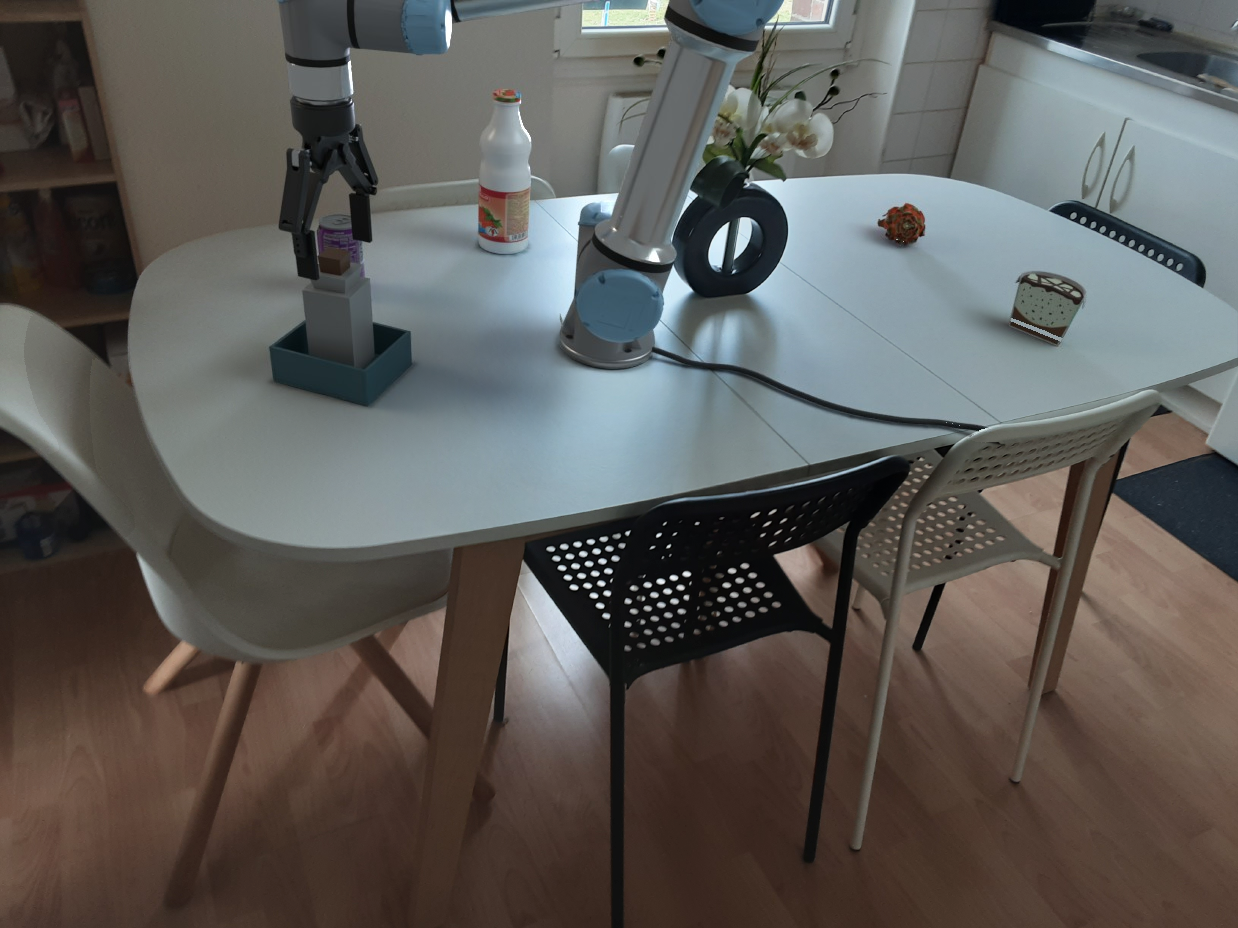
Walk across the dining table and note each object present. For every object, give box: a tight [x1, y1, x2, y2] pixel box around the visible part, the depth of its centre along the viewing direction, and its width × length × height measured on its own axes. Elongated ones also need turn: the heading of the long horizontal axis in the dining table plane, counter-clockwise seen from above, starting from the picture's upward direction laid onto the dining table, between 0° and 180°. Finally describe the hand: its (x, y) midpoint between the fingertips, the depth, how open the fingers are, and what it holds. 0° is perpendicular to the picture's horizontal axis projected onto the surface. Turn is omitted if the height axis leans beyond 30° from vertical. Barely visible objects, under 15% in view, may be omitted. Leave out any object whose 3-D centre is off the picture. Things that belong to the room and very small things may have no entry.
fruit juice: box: [477, 88, 532, 255], centre depth 175 cm, size 9×9×28 cm
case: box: [268, 319, 413, 407], centre depth 140 cm, size 15×13×6 cm
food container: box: [1007, 270, 1088, 347], centre depth 172 cm, size 12×6×10 cm, turn 47°
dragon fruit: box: [877, 202, 926, 246], centre depth 202 cm, size 8×8×12 cm
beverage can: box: [316, 213, 366, 278], centre depth 159 cm, size 7×7×12 cm
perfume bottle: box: [301, 247, 375, 369], centre depth 136 cm, size 7×7×18 cm
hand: (336, 258), depth 131 cm, fingers open, 13 cm apart
